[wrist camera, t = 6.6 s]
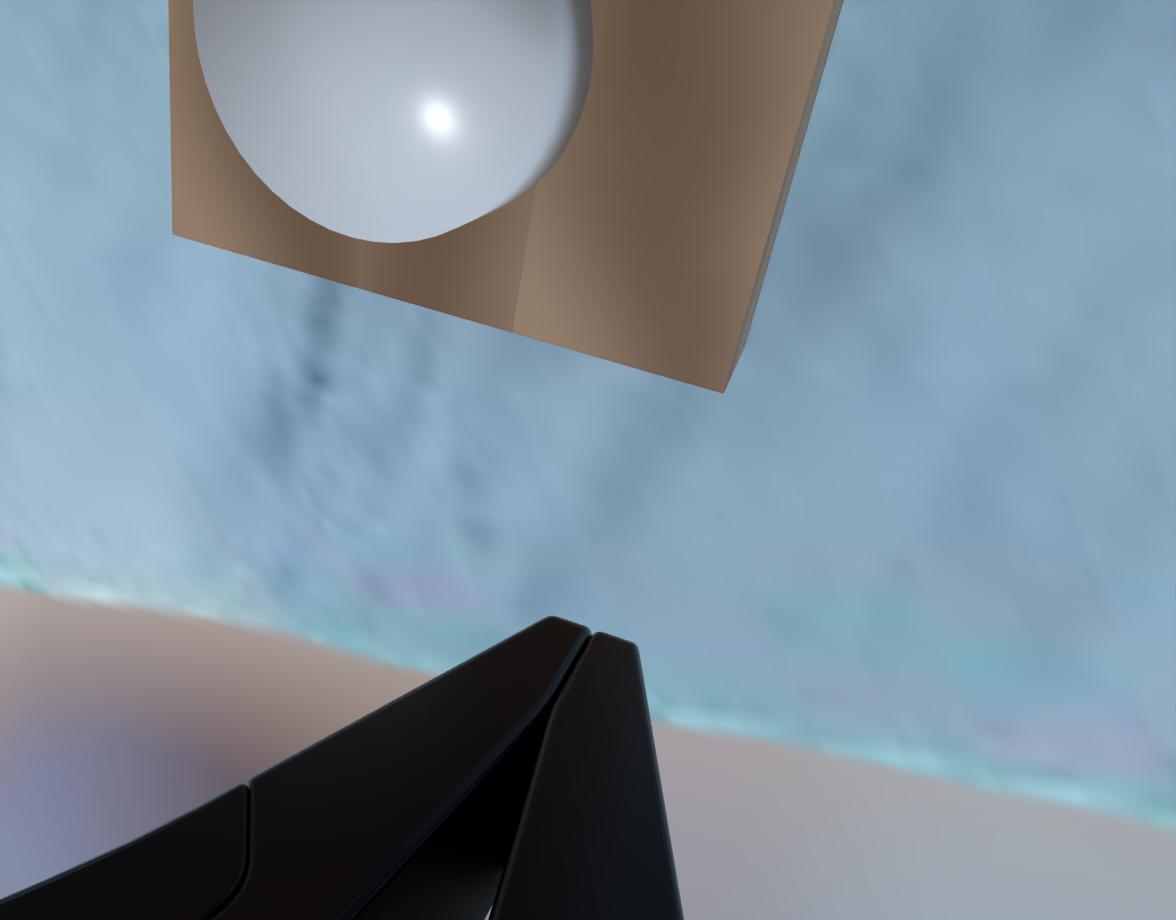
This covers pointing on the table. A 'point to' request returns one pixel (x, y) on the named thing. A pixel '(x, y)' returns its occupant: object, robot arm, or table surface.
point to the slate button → (397, 103)
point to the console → (577, 191)
